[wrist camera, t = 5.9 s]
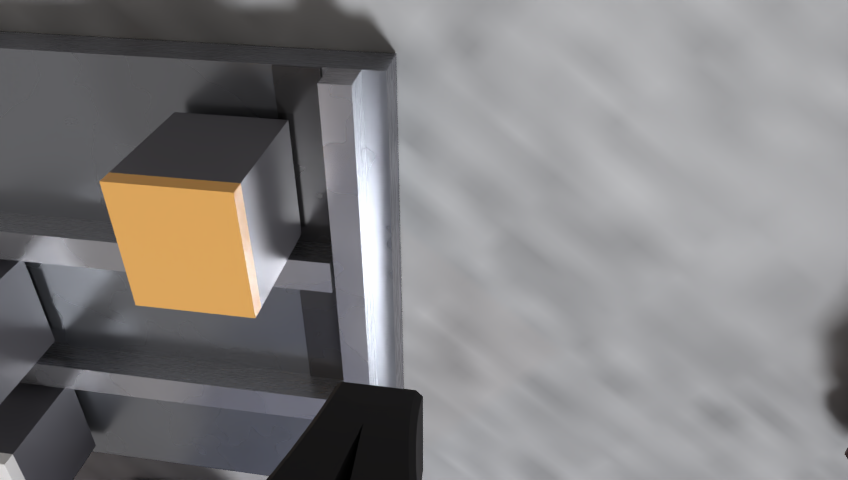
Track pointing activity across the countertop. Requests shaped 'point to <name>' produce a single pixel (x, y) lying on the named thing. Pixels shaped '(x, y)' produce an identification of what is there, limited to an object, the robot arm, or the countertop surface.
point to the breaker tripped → (206, 212)
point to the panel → (186, 330)
